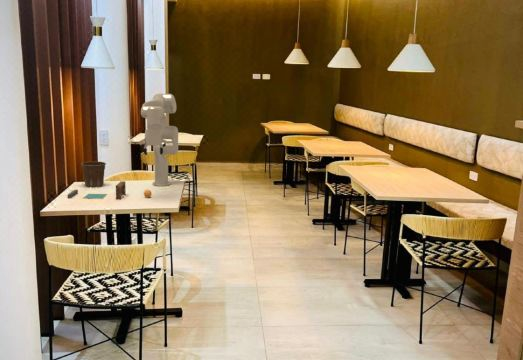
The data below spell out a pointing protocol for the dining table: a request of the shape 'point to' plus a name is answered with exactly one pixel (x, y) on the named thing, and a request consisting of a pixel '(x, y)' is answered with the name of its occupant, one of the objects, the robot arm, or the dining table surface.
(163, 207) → the dining table surface
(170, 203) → the dining table surface
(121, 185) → the bridge
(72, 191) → the stopper wall
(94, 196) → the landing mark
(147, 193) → the ball
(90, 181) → the plant pot
